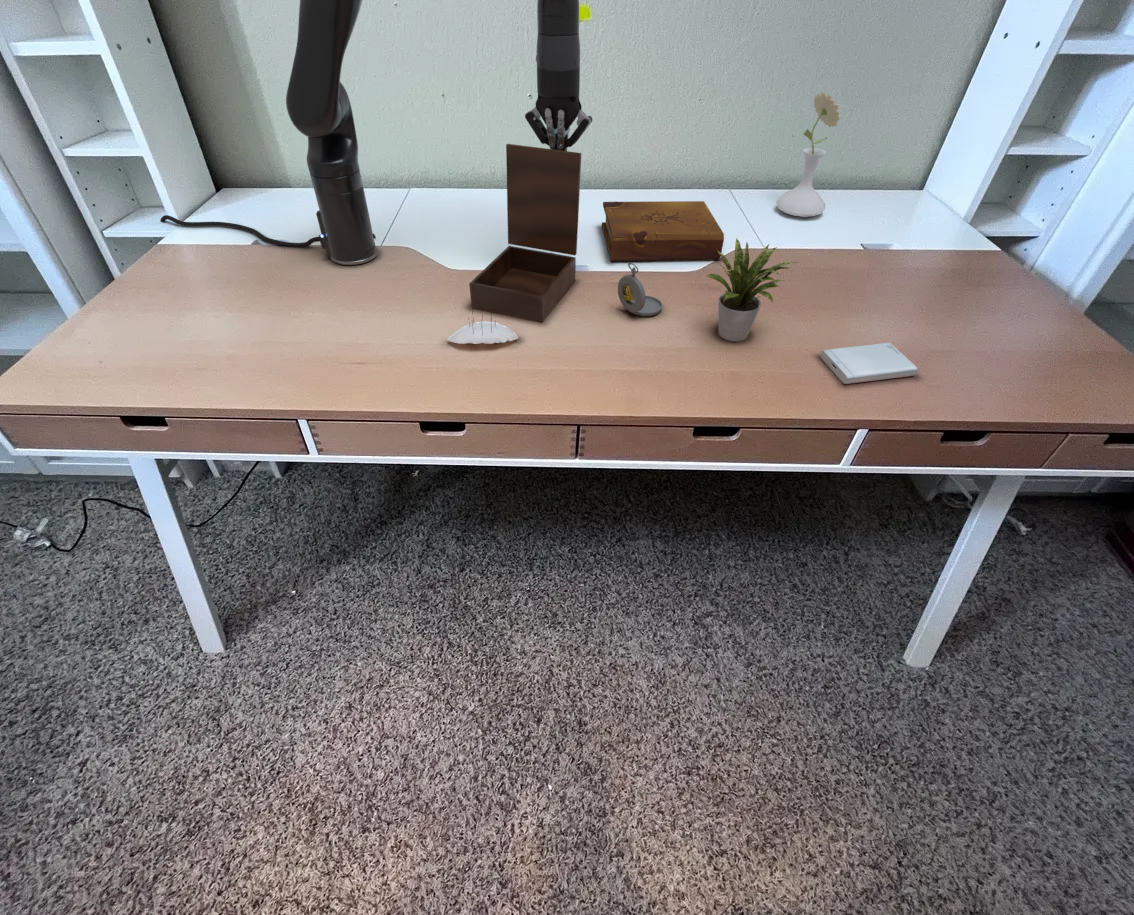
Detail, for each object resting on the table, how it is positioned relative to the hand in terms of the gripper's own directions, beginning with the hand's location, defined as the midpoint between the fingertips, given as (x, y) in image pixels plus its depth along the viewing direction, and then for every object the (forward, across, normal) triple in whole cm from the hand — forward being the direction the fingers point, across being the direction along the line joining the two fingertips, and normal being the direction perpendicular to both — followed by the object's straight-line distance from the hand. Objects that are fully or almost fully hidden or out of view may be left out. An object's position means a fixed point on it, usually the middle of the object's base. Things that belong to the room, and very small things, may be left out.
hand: (558, 168), depth 120 cm
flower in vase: (+18, -45, -45) cm, 66 cm away
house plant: (+18, -40, +19) cm, 48 cm away
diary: (+18, -18, -14) cm, 29 cm away
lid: (+3, 0, +9) cm, 9 cm away
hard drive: (+18, -62, +20) cm, 68 cm away
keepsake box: (+18, 0, +18) cm, 25 cm away
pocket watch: (+18, -22, +16) cm, 32 cm away
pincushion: (+18, 0, +36) cm, 40 cm away
